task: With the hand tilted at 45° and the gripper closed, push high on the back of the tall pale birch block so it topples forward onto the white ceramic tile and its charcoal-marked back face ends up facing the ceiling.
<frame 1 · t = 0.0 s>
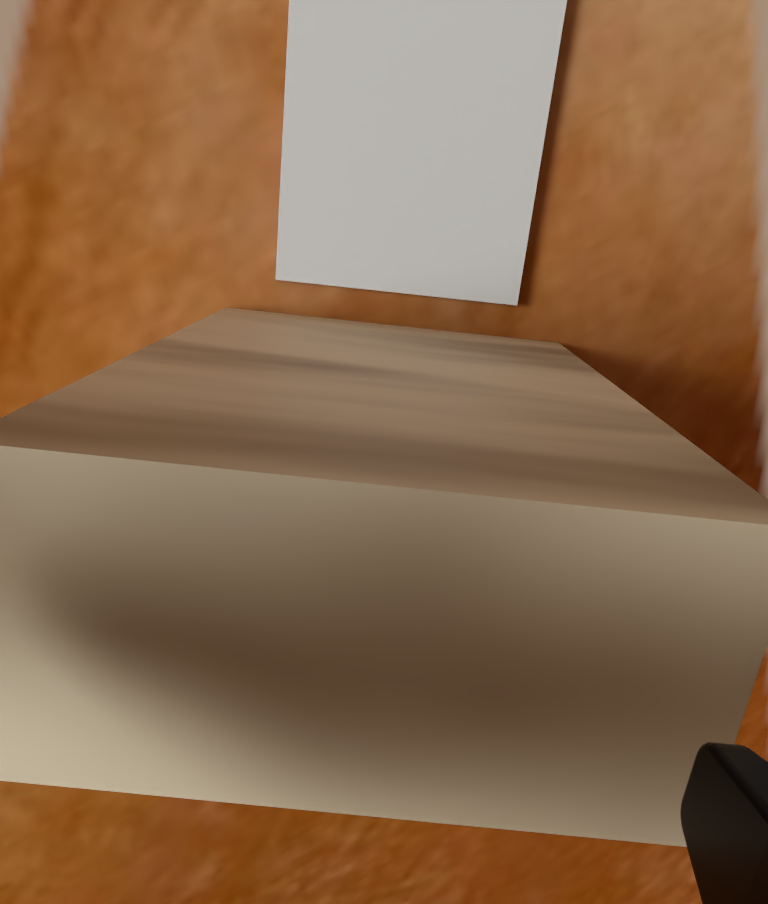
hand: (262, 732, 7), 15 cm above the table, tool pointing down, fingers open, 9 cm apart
birch block: (384, 405, 21), on the table
white ceramic tile: (417, 92, 18), on the table
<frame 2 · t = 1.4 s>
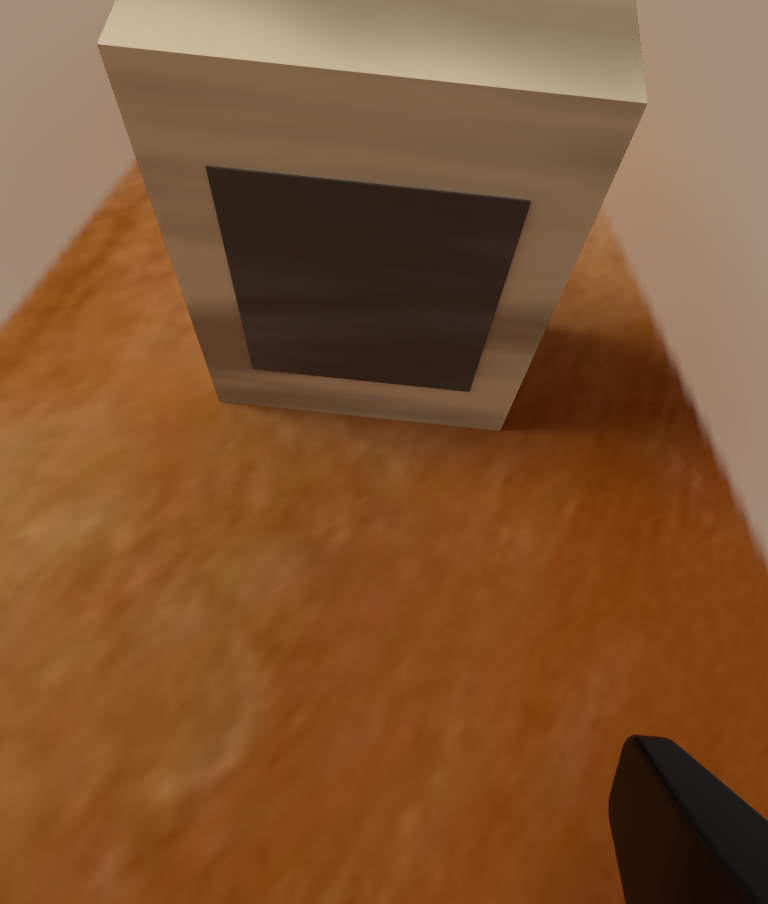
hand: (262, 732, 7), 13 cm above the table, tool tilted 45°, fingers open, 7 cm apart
birch block: (367, 357, 25), on the table
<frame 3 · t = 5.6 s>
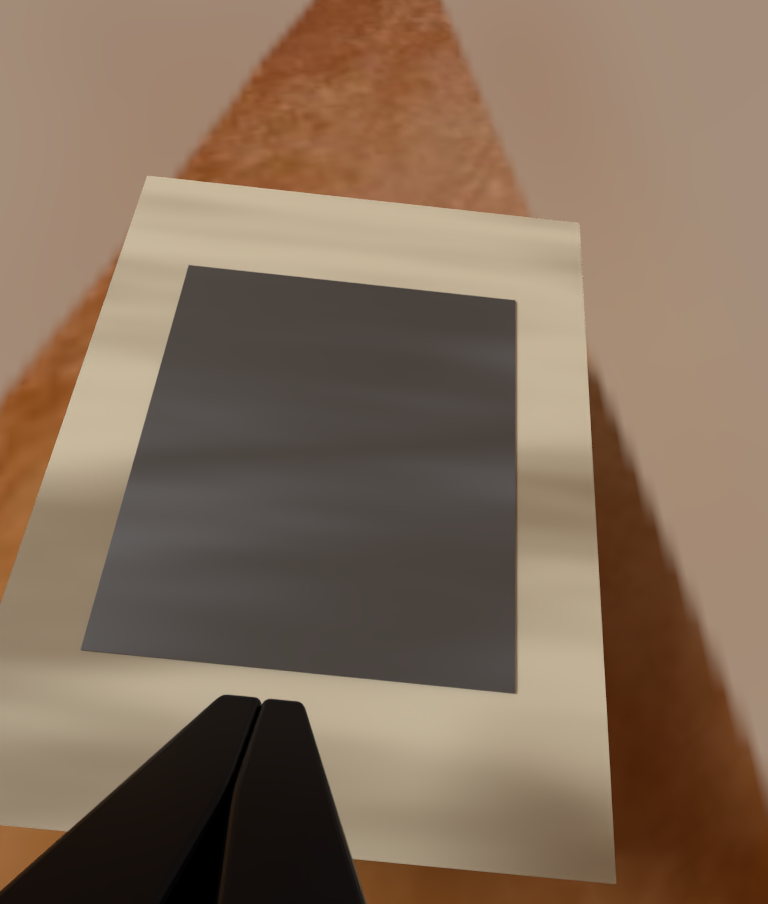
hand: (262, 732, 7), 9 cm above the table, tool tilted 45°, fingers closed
birch block: (286, 838, 12), point 3 cm above the table, tilted 90°, touching white ceramic tile
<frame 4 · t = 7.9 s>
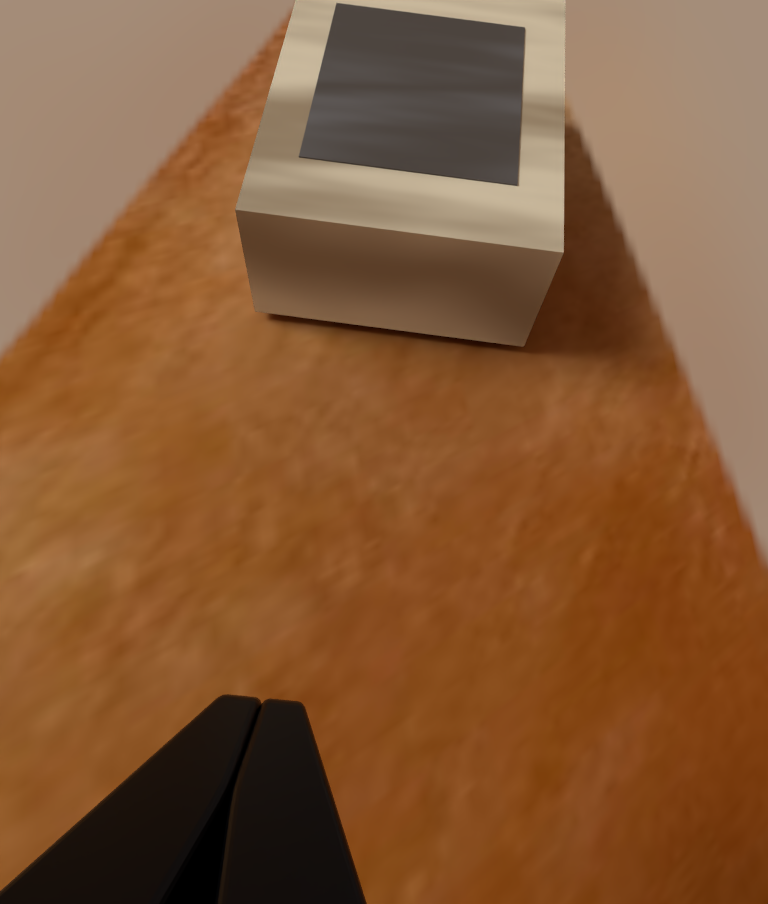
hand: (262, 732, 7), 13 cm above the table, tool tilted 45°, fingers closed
birch block: (393, 284, 23), point 3 cm above the table, tilted 90°, touching white ceramic tile
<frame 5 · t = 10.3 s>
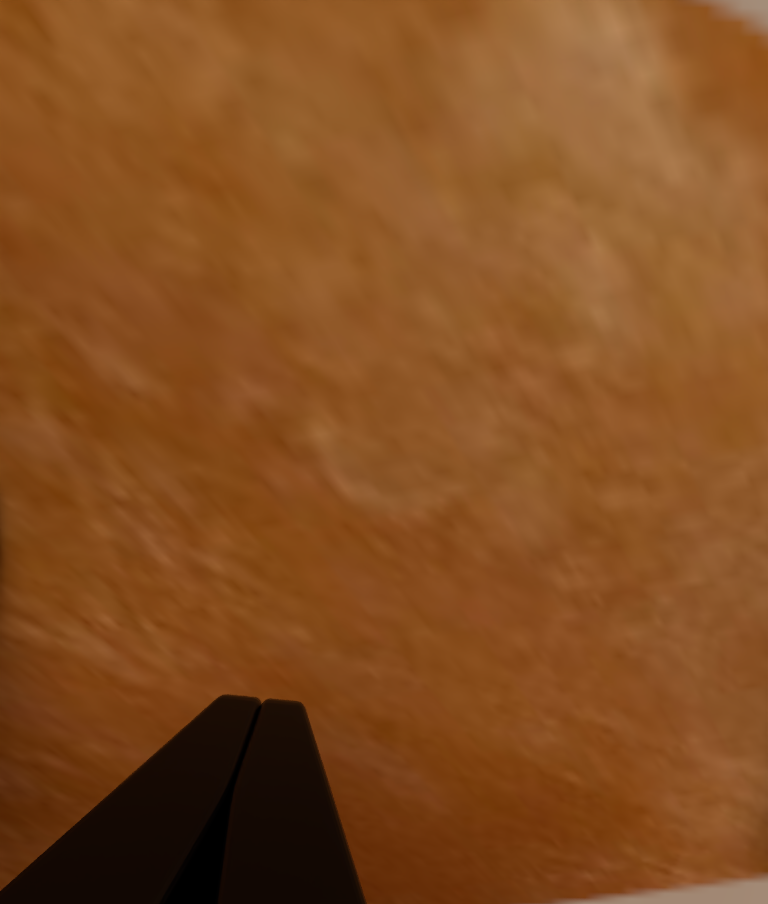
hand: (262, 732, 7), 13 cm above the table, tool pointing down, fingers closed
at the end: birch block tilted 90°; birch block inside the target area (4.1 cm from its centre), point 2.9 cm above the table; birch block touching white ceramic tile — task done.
